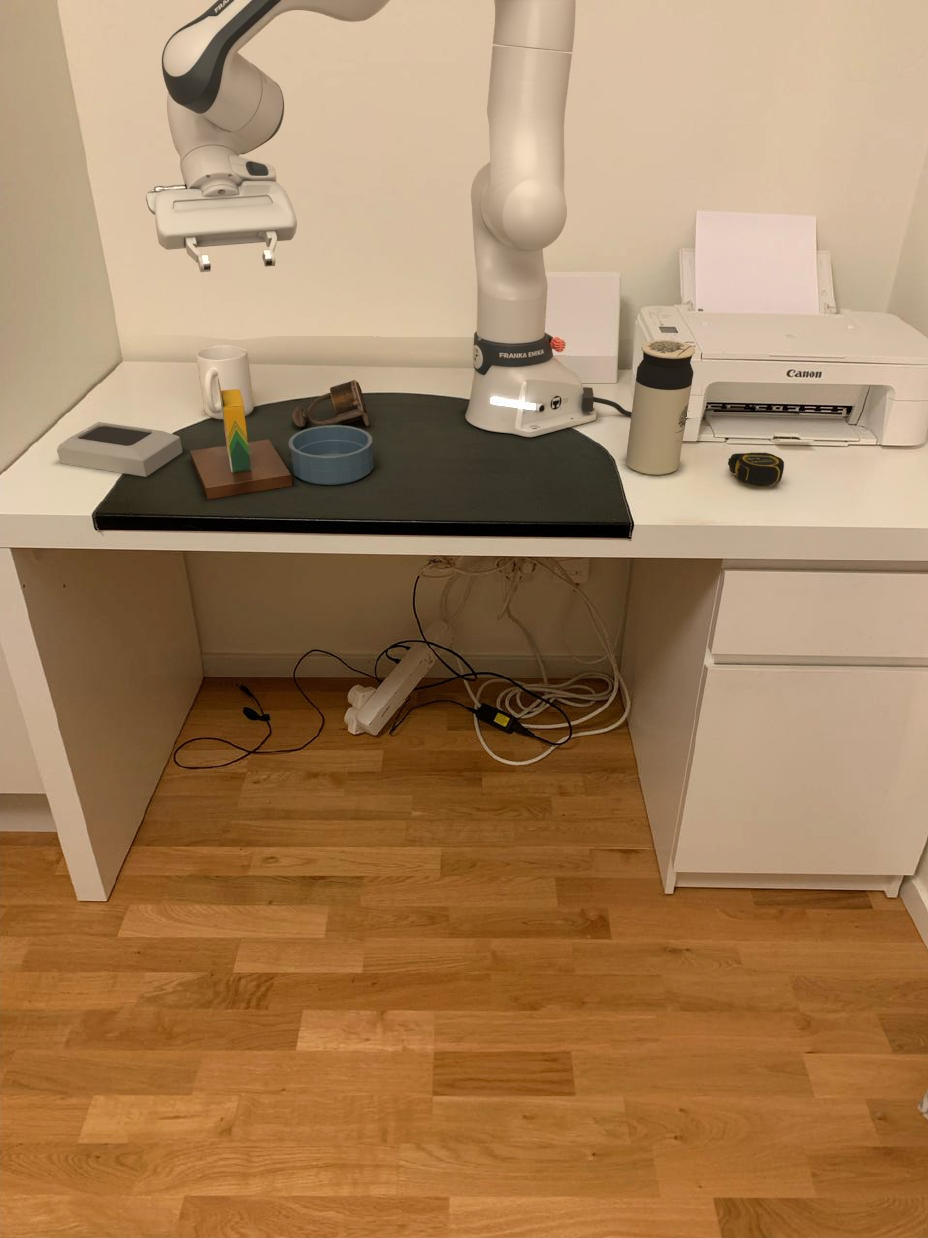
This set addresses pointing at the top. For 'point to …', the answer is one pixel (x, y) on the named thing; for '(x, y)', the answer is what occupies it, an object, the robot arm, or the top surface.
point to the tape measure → (757, 468)
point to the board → (224, 483)
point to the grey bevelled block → (120, 449)
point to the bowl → (331, 454)
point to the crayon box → (235, 430)
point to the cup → (224, 376)
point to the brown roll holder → (337, 406)
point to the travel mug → (660, 407)
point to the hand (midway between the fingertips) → (238, 266)
